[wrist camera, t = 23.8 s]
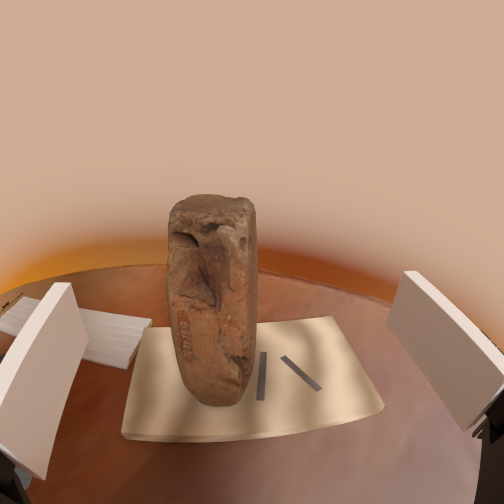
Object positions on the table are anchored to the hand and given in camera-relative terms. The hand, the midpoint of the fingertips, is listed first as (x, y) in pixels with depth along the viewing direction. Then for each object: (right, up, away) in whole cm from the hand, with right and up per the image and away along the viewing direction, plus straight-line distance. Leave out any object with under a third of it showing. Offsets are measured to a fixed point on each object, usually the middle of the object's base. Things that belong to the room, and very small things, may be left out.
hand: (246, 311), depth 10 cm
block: (-3, -12, +21) cm, 24 cm away
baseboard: (-31, -11, +27) cm, 43 cm away
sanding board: (0, -13, +22) cm, 26 cm away
